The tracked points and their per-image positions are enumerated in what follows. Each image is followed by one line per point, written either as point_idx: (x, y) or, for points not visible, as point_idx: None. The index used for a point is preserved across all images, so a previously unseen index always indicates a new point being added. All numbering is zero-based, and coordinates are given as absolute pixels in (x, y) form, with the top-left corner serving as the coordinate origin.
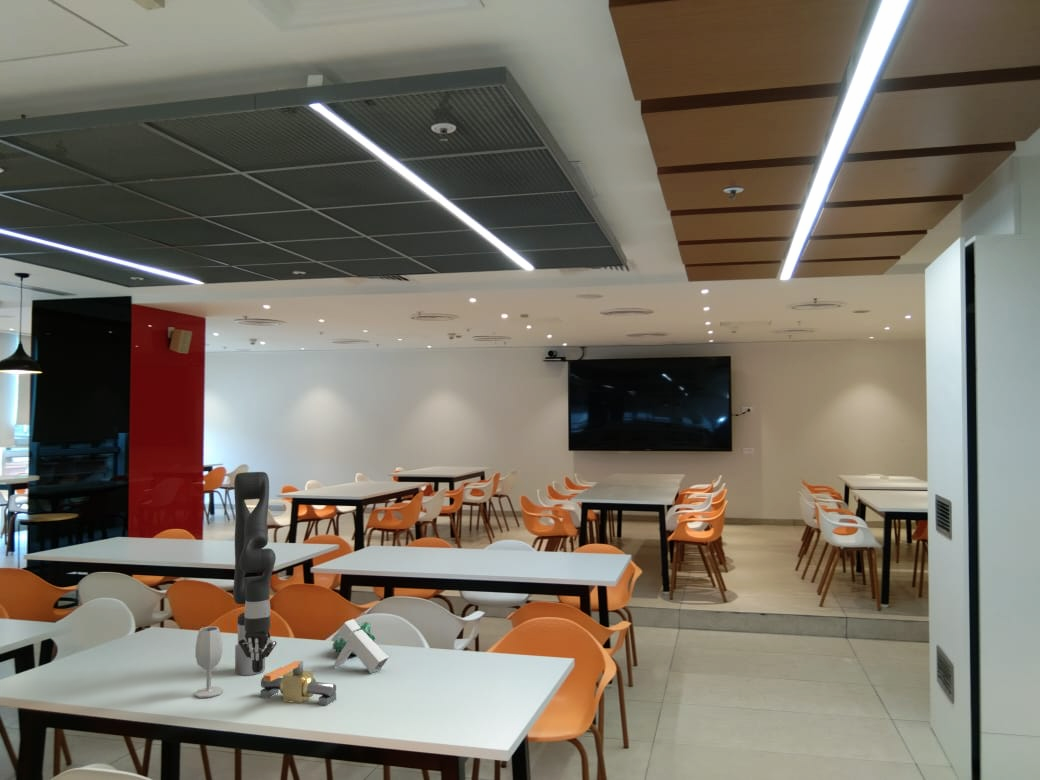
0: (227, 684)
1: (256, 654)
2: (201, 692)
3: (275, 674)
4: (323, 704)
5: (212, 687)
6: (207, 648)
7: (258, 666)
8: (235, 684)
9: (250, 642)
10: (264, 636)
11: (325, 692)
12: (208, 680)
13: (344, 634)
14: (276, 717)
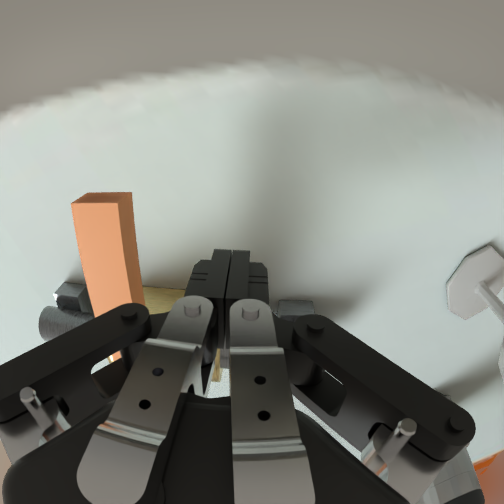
0: (449, 346)
1: (194, 336)
2: (492, 270)
3: (81, 248)
4: (72, 285)
5: (476, 309)
6: None
7: (202, 276)
8: (430, 353)
9: (261, 456)
10: (12, 499)
11: (56, 309)
12: (496, 301)
13: None
14: (128, 155)
